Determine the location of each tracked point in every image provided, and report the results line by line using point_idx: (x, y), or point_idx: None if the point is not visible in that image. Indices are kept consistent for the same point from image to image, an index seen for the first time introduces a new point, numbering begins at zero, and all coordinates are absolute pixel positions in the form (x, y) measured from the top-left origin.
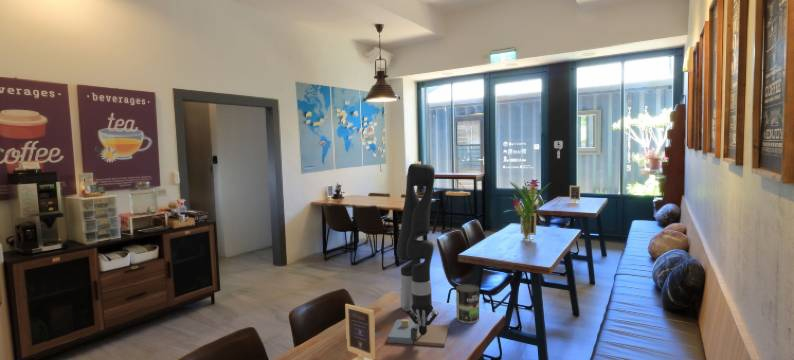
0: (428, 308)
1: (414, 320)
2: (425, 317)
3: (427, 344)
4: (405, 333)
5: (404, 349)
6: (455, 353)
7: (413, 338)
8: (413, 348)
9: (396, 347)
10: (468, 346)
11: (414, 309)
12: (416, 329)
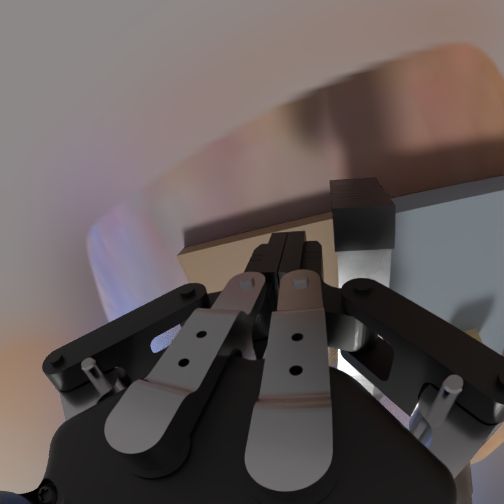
0: (71, 459)
1: (376, 303)
2: (177, 347)
3: (274, 226)
4: (443, 264)
5: (391, 117)
6: (114, 207)
7: (355, 182)
8: (342, 151)
9: (447, 126)
10: (112, 284)
11: (387, 471)
12: (337, 232)
